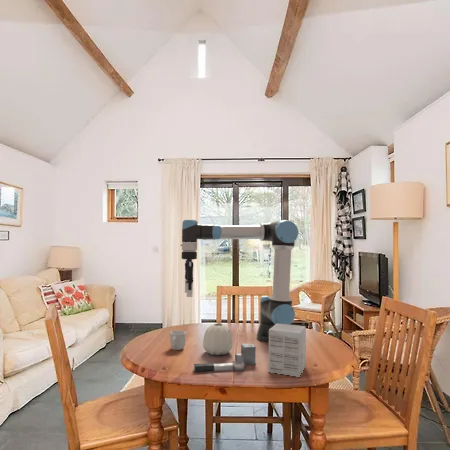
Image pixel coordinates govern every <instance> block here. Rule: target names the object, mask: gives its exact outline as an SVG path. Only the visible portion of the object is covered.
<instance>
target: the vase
mask: <svg viewBox="0 0 450 450" xmlns="http://www.w3.org/2000/svg"><path fill="white" fill-rule="evenodd" d="M202 341H203V342H202V346H203V347H202V348H203V349H204V351H205V352H206V353H207V354H208V355H212V356H224V355H227V354H228V353H229V352H230V351H231V350H232V349H233V337H232V332H231V330H230V329H229V328H228V326H227V325H225V324H223V323H213V324H211V325H210V326H208V327H207V328H206V330H205V332H204V335H203V340H202Z"/></svg>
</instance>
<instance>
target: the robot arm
mask: <svg viewBox="0 0 450 450" xmlns="http://www.w3.org/2000/svg"><path fill="white" fill-rule="evenodd" d="M198 222H199V221H198V220H197V219H184V220H183V221H182V226H181V244H180V247H181V251H182V252H181V260H185V261H184V271H185V272H184V279H185V280H184V293H186V298H193V295H194V294H193V291H194V290H193V289H194V288H193V287H194V286H193V285H194V262H193V260H197V259H198V252H197V251H198V240H204V241H205V240H214V241H215V240H260V241H261V242H265V241H266V242H271V246H272V247H273V249H274V252H273V253H274V257H273V274H272V275H273V277H272V278H273V279H272V282H273V283H272V295H271V296H261V298H260V302H259V308H260V309H259V312H260V313H259V314H260V316H259V327H258V329H257V331H256V340H259V341H261V342H265V343H269V329H270V328H272V327H273V326H274V325H275V324H276V323H278V324H288V325H292V323H293V322H294V320H295V319H296V317H295V316H296V311H295V310H294V307H293V299H292V297H290V290H291V288H290V287H291V264H292V263H291V262H292V250H293V249H294V248H295V243H296V242H295V241H297V239H298V237H299V228H298V226H297V224H296V223H295V222H294V221H291V220H287V219H282V220H275V221H272V222H267V223H264V222H263V223H260V224H258V225H257V224H251V225H250V224H249V225H248V224H246V225H245V224H243V225H242V224H240V225H232V224H231V225H225V224H222V225H220V224H209V223H208V224H207V223H206V224H205V223H203V224H201V223H198Z"/></svg>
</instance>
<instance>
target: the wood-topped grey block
mask: <svg viewBox="0 0 450 450" xmlns="http://www.w3.org/2000/svg"><path fill="white" fill-rule="evenodd" d="M256 351H257V349H256V345H254V343H251V342H250V343H241V345H240V353H241V355H242V361H243V362H244V366H251V365H256V355H257V354H256V353H257V352H256Z"/></svg>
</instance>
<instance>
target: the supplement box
mask: <svg viewBox="0 0 450 450" xmlns="http://www.w3.org/2000/svg"><path fill="white" fill-rule="evenodd" d="M306 328H307V327H306V326H305V325H296V324H290V325H288V324H278V323H276V324H275V325H274V326H273V327H272V328H270V329H269V342H268V362H267V363H268V365H267V367H268V368H267V369H268V370H267V371H268V373H269V372H270V374H274V373H277V374H276V375H280V374H284V375H283V376H286V375H290V376H289V377H292V376H296V377H295V378H298V377H300V378H301V376H302V374H303V372H304V371H305V369H306V348H307V347H306V342H307V341H306V338H307V337H306V334H307V333H306V332H307V331H306ZM304 368H305V369H304ZM303 370H304V371H303ZM301 373H302V374H301ZM300 375H301V376H300Z"/></svg>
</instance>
